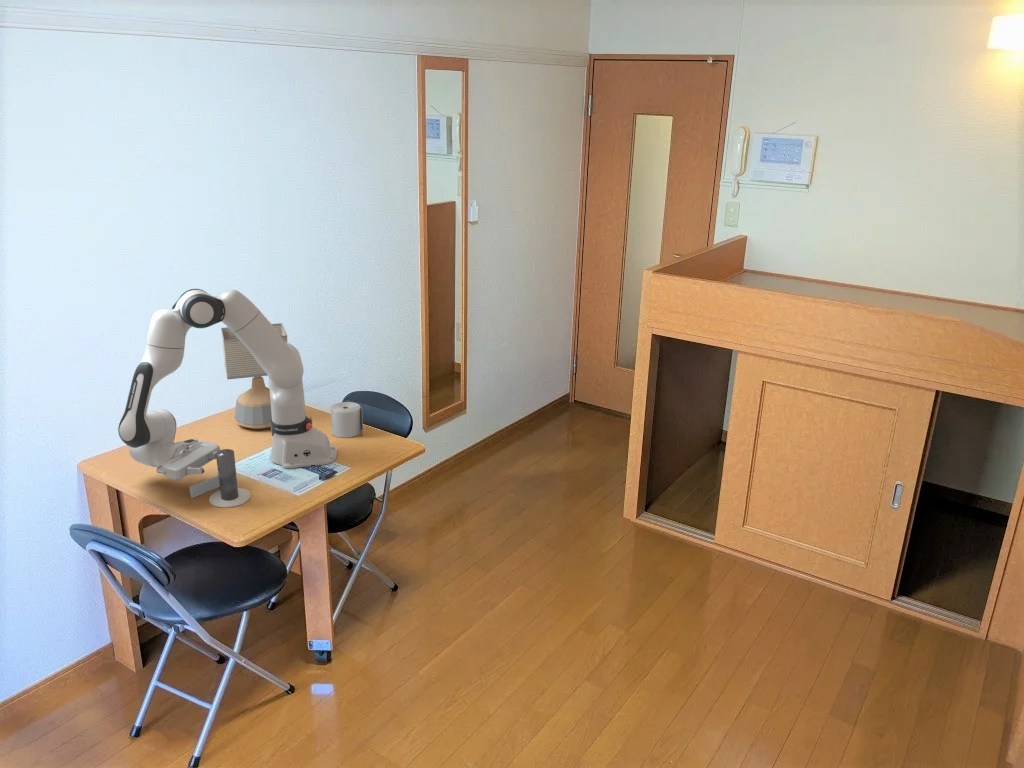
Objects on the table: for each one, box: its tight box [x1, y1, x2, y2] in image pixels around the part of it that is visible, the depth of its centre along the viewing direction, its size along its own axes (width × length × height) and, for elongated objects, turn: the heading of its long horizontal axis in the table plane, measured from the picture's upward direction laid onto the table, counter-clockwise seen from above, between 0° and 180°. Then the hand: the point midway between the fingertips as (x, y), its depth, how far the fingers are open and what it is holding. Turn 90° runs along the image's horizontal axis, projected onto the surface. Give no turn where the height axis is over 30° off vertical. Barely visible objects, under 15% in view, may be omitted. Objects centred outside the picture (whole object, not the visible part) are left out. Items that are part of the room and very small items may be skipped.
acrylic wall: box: [189, 475, 220, 499], centre depth 263 cm, size 14×1×4 cm, turn 144°
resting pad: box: [208, 487, 251, 509], centre depth 258 cm, size 12×12×1 cm
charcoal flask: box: [216, 448, 239, 501], centre depth 256 cm, size 5×5×15 cm
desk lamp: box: [220, 322, 289, 430], centre depth 308 cm, size 22×19×37 cm
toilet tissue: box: [330, 401, 364, 439], centre depth 306 cm, size 11×12×10 cm
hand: (213, 465), depth 256 cm, fingers open, 8 cm apart
